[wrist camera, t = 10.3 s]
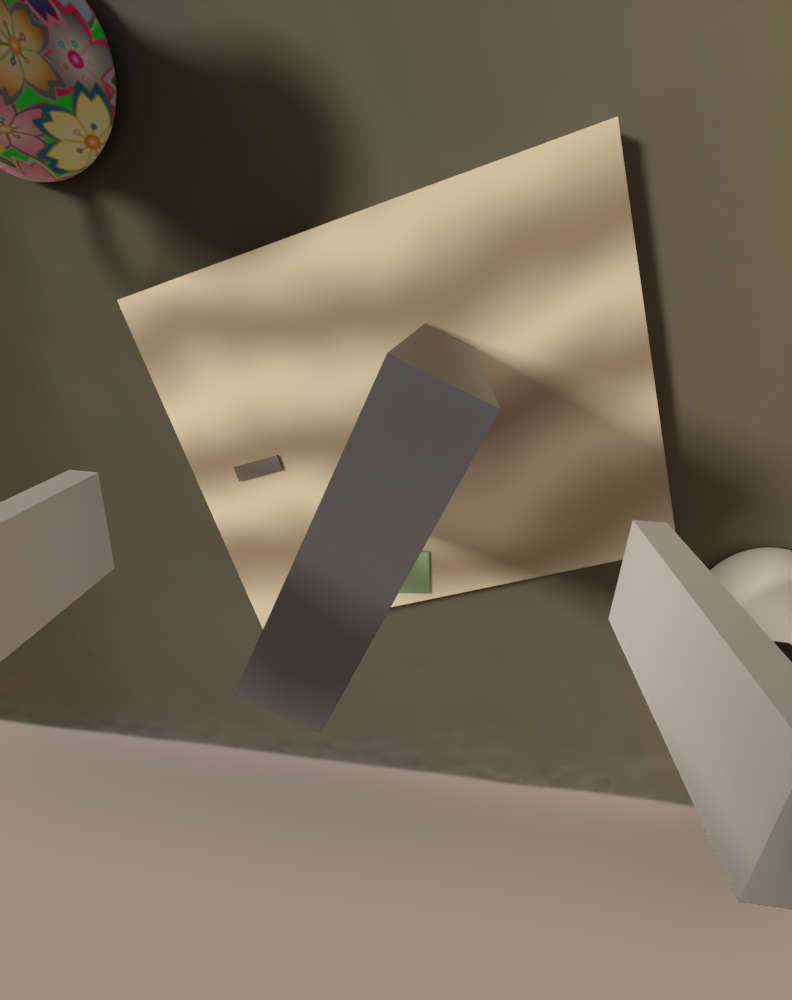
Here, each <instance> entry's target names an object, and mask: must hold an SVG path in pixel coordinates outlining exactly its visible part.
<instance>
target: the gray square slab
mask: <svg viewBox="0 0 792 1000" xmlns="http://www.w3.org/2000/svg"><path fill="white" fill-rule="evenodd" d="M499 411H500V407H499V405H498V402H497V400H496V398H495V395H494V393H493V390H492V388H491V385H490V383H489V381H488V378H487V376H486V373H485V371H484V369H483V366H482V364H481V361H480V359H479V356H478V354H477V352H476V349H475V348H474V347H472V346H470V345H468V344H466V343H464V342H462V341H460V340H458V339H456V338H454V337H452V336H450V335H448V334H446V333H444V332H442V331H440V330H438V329H436V328H434V327H432V326H430V325H428V324H427V323H425V324H424V325H422V326H421V327H420V328H419V329H417V330H416V331H415V332H413V333H412V334H411V335H410V336H408V337H407V338H406V339H404V340H403V341H402V342H401V343H399V344H398V345H397V346H395V347H394V348H393V349H392V350H390V351H389V352H388V353H387V354H386V357H385V359H384V361H383V363H382V366H381V368H380V370H379V372H378V374H377V377H376V379H375V381H374V383H373V386H372V388H371V390H370V392H369V395H368V397H367V399H366V401H365V403H364V406H363V408H362V410H361V412H360V415H359V417H358V419H357V421H356V424H355V426H354V428H353V430H352V432H351V435H350V437H349V439H348V441H347V444H346V446H345V448H344V450H343V453H342V455H341V457H340V459H339V461H338V464H337V466H336V468H335V470H334V473H333V475H332V477H331V479H330V482H329V484H328V486H327V488H326V490H325V493H324V495H323V497H322V499H321V502H320V504H319V506H318V508H317V511H316V513H315V515H314V517H313V519H312V522H311V524H310V526H309V528H308V531H307V533H306V535H305V537H304V540H303V542H302V544H301V546H300V548H299V551H298V553H297V555H296V557H295V560H294V562H293V564H292V566H291V569H290V571H289V573H288V575H287V577H286V580H285V582H284V584H283V586H282V589H281V591H280V593H279V595H278V598H277V600H276V602H275V604H274V606H273V609H272V611H271V613H270V615H269V618H268V620H267V622H266V624H265V627H264V629H263V631H262V633H261V635H260V638H259V640H258V642H257V644H256V647H255V649H254V651H253V653H252V656H251V658H250V660H249V662H248V664H247V667H246V669H245V671H244V673H243V676H242V678H241V680H240V682H239V685H238V687H237V689H236V691H235V693H234V695H236V696H239V697H241V698H243V699H245V700H248V701H250V702H252V703H254V704H257V705H259V706H261V707H263V708H266V709H268V710H270V711H272V712H275V713H277V714H279V715H281V716H284V717H286V718H288V719H290V720H293V721H295V722H297V723H299V724H302V725H304V726H306V727H308V728H311V729H313V730H315V731H317V732H320V733H321V732H322V730H323V728H324V726H325V724H326V723H327V721H328V719H329V717H330V715H331V714H332V712H333V710H334V708H335V706H336V705H337V703H338V701H339V699H340V697H341V696H342V694H343V692H344V690H345V688H346V687H347V685H348V683H349V681H350V679H351V678H352V676H353V674H354V672H355V670H356V669H357V667H358V665H359V663H360V661H361V660H362V658H363V656H364V654H365V652H366V651H367V649H368V647H369V645H370V643H371V642H372V640H373V638H374V636H375V634H376V633H377V631H378V629H379V627H380V625H381V624H382V622H383V620H384V618H385V616H386V615H387V613H388V611H389V609H390V607H391V606H392V604H393V602H394V600H395V598H396V597H397V595H398V593H399V591H400V589H401V588H402V586H403V584H404V582H405V580H406V579H407V577H408V575H409V573H410V571H411V570H412V568H413V566H414V564H415V562H416V561H417V559H418V557H419V555H420V553H421V552H422V550H423V548H424V546H425V544H426V543H427V541H428V539H429V537H430V535H431V534H432V532H433V530H434V528H435V526H436V525H437V523H438V521H439V519H440V517H441V516H442V514H443V512H444V510H445V508H446V507H447V505H448V503H449V501H450V499H451V498H452V496H453V494H454V492H455V490H456V489H457V487H458V485H459V483H460V481H461V480H462V478H463V476H464V474H465V472H466V470H467V469H468V467H469V465H470V463H471V461H472V460H473V458H474V456H475V454H476V452H477V451H478V449H479V447H480V445H481V443H482V442H483V440H484V438H485V436H486V434H487V433H488V431H489V429H490V427H491V425H492V424H493V422H494V420H495V418H496V416H497V415H498V413H499Z"/></svg>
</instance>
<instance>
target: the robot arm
mask: <svg viewBox="0 0 792 1000" xmlns="http://www.w3.org/2000/svg"><path fill="white" fill-rule="evenodd" d="M113 569H114V563H113V557H112V551H111V545H110V539H109V534H108V528H107V522H106V516H105V510H104V505H103V499H102V493H101V487H100V482H99V476H98V473H97V472H86V471H75V470H68V471H66V472H64V473H62V474H60V475H58V476H56V477H53V478H51V479H49V480H47V481H45V482H43V483H41V484H39V485H36V486H34V487H32V488H30V489H28V490H26V491H24V492H22V493H19V494H17V495H15V496H13V497H11V498H9V499H7V500H5V501H2V502H0V662H1V661H2V660H3V659H4V658H6V657H7V656H8V655H9V654H10V653H12V652H13V651H14V650H15V649H17V648H18V647H19V646H20V645H21V644H23V643H24V642H25V641H26V640H28V639H29V638H30V637H31V636H32V635H34V634H35V633H36V632H37V631H38V630H40V629H41V628H42V627H43V626H45V625H46V624H47V623H48V622H49V621H51V620H52V619H53V618H54V617H56V616H57V615H58V614H59V613H60V612H62V611H63V610H64V609H65V608H66V607H68V606H69V605H70V604H71V603H73V602H74V601H75V600H76V599H77V598H79V597H80V596H81V595H82V594H84V593H85V592H86V591H87V590H88V589H90V588H91V587H92V586H93V585H95V584H96V583H97V582H98V581H99V580H101V579H102V578H103V577H104V576H105V575H107V574H108V573H109V572H110V571H112V570H113ZM609 621H610V623H611V626H612V628H613V630H614V632H615V634H616V637H617V639H618V641H619V643H620V645H621V647H622V650H623V652H624V654H625V656H626V658H627V660H628V663H629V665H630V667H631V669H632V671H633V673H634V676H635V678H636V680H637V682H638V684H639V686H640V689H641V691H642V693H643V695H644V697H645V700H646V702H647V704H648V706H649V708H650V710H651V713H652V715H653V717H654V719H655V721H656V723H657V726H658V728H659V730H660V732H661V734H662V736H663V739H664V741H665V743H666V745H667V747H668V750H669V752H670V754H671V756H672V758H673V760H674V763H675V765H676V767H677V769H678V771H679V773H680V776H681V778H682V780H683V782H684V784H685V786H686V789H687V791H688V793H689V795H690V797H691V800H692V802H693V804H694V806H695V808H696V810H697V812H698V815H699V817H700V819H701V821H702V823H703V825H704V828H705V830H706V832H707V834H708V836H709V838H710V841H711V843H712V845H713V847H714V850H715V852H716V854H717V856H718V858H719V860H720V862H721V865H722V867H723V869H724V871H725V873H726V876H727V878H728V879H729V882H730V884H731V886H732V889H733V891H734V892H735V895H736V897H737V899H738V902H743V903H750V904H758V905H764V906H772V907H779V908H786V909H792V645H791V644H790V643H786V642H777V641H772V640H771V639H770V637H769V636H768V635H767V634H766V633H765V632H764V631H763V630H762V629H761V627H760V626H759V625H758V624H757V623H756V622H755V621H754V620H753V618H752V617H751V616H750V615H749V614H748V613H747V612H746V611H745V610H744V608H743V607H742V606H741V605H740V604H739V603H738V602H737V601H736V600H735V598H734V597H733V596H732V595H731V594H730V593H729V592H728V591H727V589H726V588H725V587H724V586H723V585H722V584H721V583H720V582H719V581H718V579H717V578H716V577H715V576H714V575H713V574H712V573H711V572H710V571H709V569H708V568H707V567H706V566H705V565H704V564H703V563H702V562H701V560H700V559H699V558H698V557H697V556H696V555H695V554H694V553H693V552H692V550H691V549H690V548H689V547H688V546H687V545H686V544H685V543H684V541H683V540H682V539H681V538H680V537H679V536H678V535H677V534H676V533H675V531H674V530H673V529H672V528H671V527H670V526H669V525H668V524H667V523H664V522H652V521H641V520H633V521H632V525H631V529H630V533H629V537H628V541H627V545H626V549H625V553H624V557H623V562H622V566H621V570H620V574H619V578H618V582H617V586H616V590H615V594H614V598H613V602H612V606H611V611H610V615H609Z"/></svg>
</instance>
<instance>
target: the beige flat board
mask: <svg viewBox="0 0 792 1000" xmlns="http://www.w3.org/2000/svg"><path fill="white" fill-rule="evenodd" d="M117 301H118V303H119V306H120V308H121V310H122V312H123V315H124V317H125V319H126V321H127V324H128V326H129V328H130V330H131V333H132V335H133V337H134V339H135V342H136V344H137V346H138V348H139V351H140V353H141V355H142V358H143V360H144V362H145V364H146V367H147V369H148V371H149V373H150V376H151V378H152V380H153V382H154V385H155V387H156V389H157V391H158V394H159V396H160V398H161V400H162V403H163V405H164V407H165V409H166V412H167V414H168V416H169V418H170V421H171V423H172V425H173V427H174V430H175V432H176V434H177V436H178V439H179V441H180V443H181V445H182V448H183V450H184V452H185V454H186V457H187V459H188V461H189V463H190V466H191V468H192V470H193V472H194V475H195V477H196V479H197V481H198V484H199V486H200V488H201V491H202V493H203V495H204V497H205V500H206V502H207V504H208V506H209V509H210V511H211V513H212V515H213V518H214V520H215V522H216V524H217V527H218V529H219V531H220V533H221V536H222V538H223V540H224V542H225V545H226V547H227V549H228V551H229V554H230V556H231V558H232V560H233V563H234V565H235V567H236V569H237V572H238V574H239V576H240V578H241V581H242V583H243V585H244V587H245V590H246V592H247V594H248V596H249V599H250V601H251V603H252V605H253V608H254V610H255V612H256V614H257V617H258V619H259V621H260V624H261V626H262V628H263V629H264V627H265V624H266V622H267V620H268V618H269V615H270V613H271V611H272V609H273V606H274V604H275V602H276V600H277V598H278V595H279V593H280V591H281V589H282V586H283V584H284V582H285V580H286V577H287V575H288V573H289V571H290V569H291V566H292V564H293V562H294V560H295V557H296V555H297V553H298V551H299V548H300V546H301V544H302V542H303V540H304V537H305V535H306V533H307V531H308V528H309V526H310V524H311V522H312V519H313V517H314V515H315V513H316V511H317V508H318V506H319V504H320V502H321V499H322V497H323V495H324V493H325V490H326V488H327V486H328V484H329V482H330V479H331V477H332V475H333V473H334V470H335V468H336V466H337V464H338V461H339V459H340V457H341V455H342V453H343V450H344V448H345V446H346V444H347V441H348V439H349V437H350V435H351V432H352V430H353V428H354V426H355V424H356V421H357V419H358V417H359V415H360V412H361V410H362V408H363V406H364V403H365V401H366V399H367V397H368V395H369V392H370V390H371V388H372V386H373V383H374V381H375V379H376V377H377V374H378V372H379V370H380V368H381V366H382V363H383V361H384V359H385V357H386V354H387V353H388V352H389V351H390V350H392V349H393V348H394V347H395V346H397V345H398V344H399V343H401V342H402V341H403V340H404V339H406V338H407V337H408V336H410V335H411V334H412V333H413V332H415V331H416V330H417V329H419V328H420V327H421V326H422V325H424V324H425V323H427V324H428V325H430V326H432V327H434V328H436V329H438V330H440V331H442V332H444V333H446V334H448V335H450V336H452V337H454V338H456V339H458V340H460V341H462V342H464V343H466V344H468V345H470V346H472V347H474V348H475V349H476V352H477V354H478V356H479V359H480V361H481V364H482V366H483V369H484V371H485V373H486V376H487V378H488V381H489V383H490V385H491V388H492V390H493V393H494V395H495V398H496V400H497V402H498V405H499V407H500V411H499V413H498V415H497V416H496V418H495V420H494V422H493V424H492V425H491V427H490V429H489V431H488V433H487V434H486V436H485V438H484V440H483V442H482V443H481V445H480V447H479V449H478V451H477V452H476V454H475V456H474V458H473V460H472V461H471V463H470V465H469V467H468V469H467V470H466V472H465V474H464V476H463V478H462V480H461V481H460V483H459V485H458V487H457V489H456V490H455V492H454V494H453V496H452V498H451V499H450V501H449V503H448V505H447V507H446V508H445V510H444V512H443V514H442V516H441V517H440V519H439V521H438V523H437V525H436V526H435V528H434V530H433V532H432V534H431V535H430V537H429V539H428V541H427V543H426V544H425V546H424V548H423V550H422V552H421V553H420V555H419V557H418V559H417V561H416V562H415V564H414V566H413V568H412V570H411V571H410V573H409V575H408V577H407V579H406V580H405V582H404V584H403V586H402V588H401V589H400V591H399V593H398V595H397V597H396V598H395V600H394V602H393V604H392V606H391V607H395V606H400V605H405V604H409V603H414V602H419V601H424V600H429V599H434V598H439V597H443V596H448V595H453V594H458V593H463V592H468V591H473V590H477V589H482V588H487V587H492V586H497V585H502V584H507V583H511V582H516V581H521V580H526V579H531V578H536V577H540V576H545V575H550V574H555V573H560V572H565V571H570V570H574V569H579V568H584V567H589V566H594V565H599V564H604V563H608V562H613V561H618V560H623V557H624V553H625V549H626V545H627V541H628V537H629V533H630V529H631V525H632V521H633V520H641V521H652V522H664V523H667V524H668V525H669V526H670V527H671V528H672V529H673V530H674V531H675V525H674V518H673V511H672V504H671V496H670V489H669V482H668V475H667V468H666V460H665V453H664V446H663V439H662V432H661V424H660V417H659V410H658V403H657V396H656V388H655V381H654V374H653V367H652V360H651V352H650V345H649V338H648V331H647V324H646V316H645V309H644V302H643V295H642V288H641V280H640V273H639V266H638V259H637V252H636V244H635V237H634V230H633V223H632V216H631V208H630V201H629V194H628V187H627V180H626V172H625V165H624V158H623V151H622V144H621V136H620V129H619V122H618V117H615V118H612V119H609V120H607V121H604V122H601V123H599V124H596V125H593V126H590V127H588V128H585V129H582V130H579V131H577V132H574V133H571V134H569V135H566V136H563V137H560V138H558V139H555V140H552V141H549V142H547V143H544V144H541V145H539V146H536V147H533V148H530V149H528V150H525V151H522V152H519V153H517V154H514V155H511V156H509V157H506V158H503V159H500V160H498V161H495V162H492V163H489V164H487V165H484V166H481V167H479V168H476V169H473V170H470V171H468V172H465V173H462V174H459V175H457V176H454V177H451V178H449V179H446V180H443V181H440V182H438V183H435V184H432V185H429V186H427V187H424V188H421V189H419V190H416V191H413V192H410V193H408V194H405V195H402V196H399V197H397V198H394V199H391V200H389V201H386V202H383V203H380V204H378V205H375V206H372V207H369V208H367V209H364V210H361V211H359V212H356V213H353V214H350V215H348V216H345V217H342V218H340V219H337V220H334V221H331V222H329V223H326V224H323V225H320V226H318V227H315V228H312V229H310V230H307V231H304V232H301V233H299V234H296V235H293V236H290V237H288V238H285V239H282V240H280V241H277V242H274V243H271V244H269V245H266V246H263V247H260V248H258V249H255V250H252V251H250V252H247V253H244V254H241V255H239V256H236V257H233V258H230V259H228V260H225V261H222V262H220V263H217V264H214V265H211V266H209V267H206V268H203V269H200V270H198V271H195V272H192V273H190V274H187V275H184V276H181V277H179V278H176V279H173V280H170V281H168V282H165V283H162V284H160V285H157V286H154V287H151V288H149V289H146V290H143V291H140V292H138V293H135V294H132V295H130V296H127V297H124V298H121V299H119V300H117ZM675 533H676V532H675Z"/></svg>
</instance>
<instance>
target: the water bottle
mask: <svg viewBox="0 0 792 1000" xmlns="http://www.w3.org/2000/svg"><path fill="white" fill-rule="evenodd" d="M710 572H711V573H712V574H713V575H714V576H715V577H716V578H717V579H718V581H719V582H720V583H721V584H722V585H723V586H724V587H725V588H726V589H727V591H728V592H729V593H730V594H731V595H732V596H733V597H734V598H735V600H736V601H737V602H738V603H739V604H740V605H741V606H742V607H743V608H744V610H745V611H746V612H747V613H748V614H749V615H750V616H751V617H752V618H753V620H754V621H755V622H756V623H757V624H758V625H759V626H760V627H761V629H762V630H763V631H764V632H765V633H766V634H767V635H768V636H769V637H770V639H771V640H772V641H777V642H786V643H790V644H791V645H792V550H788V549H783V548H774V547H764V548H756V549H750V550H746V551H743V552H740V553H737V554H735V555H732V556H730V557H728V558H726V559H725V560H723V561H721V562H720V563H718V564H717V565H716V566H715V567H713V568H712V569H711V570H710Z"/></svg>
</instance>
